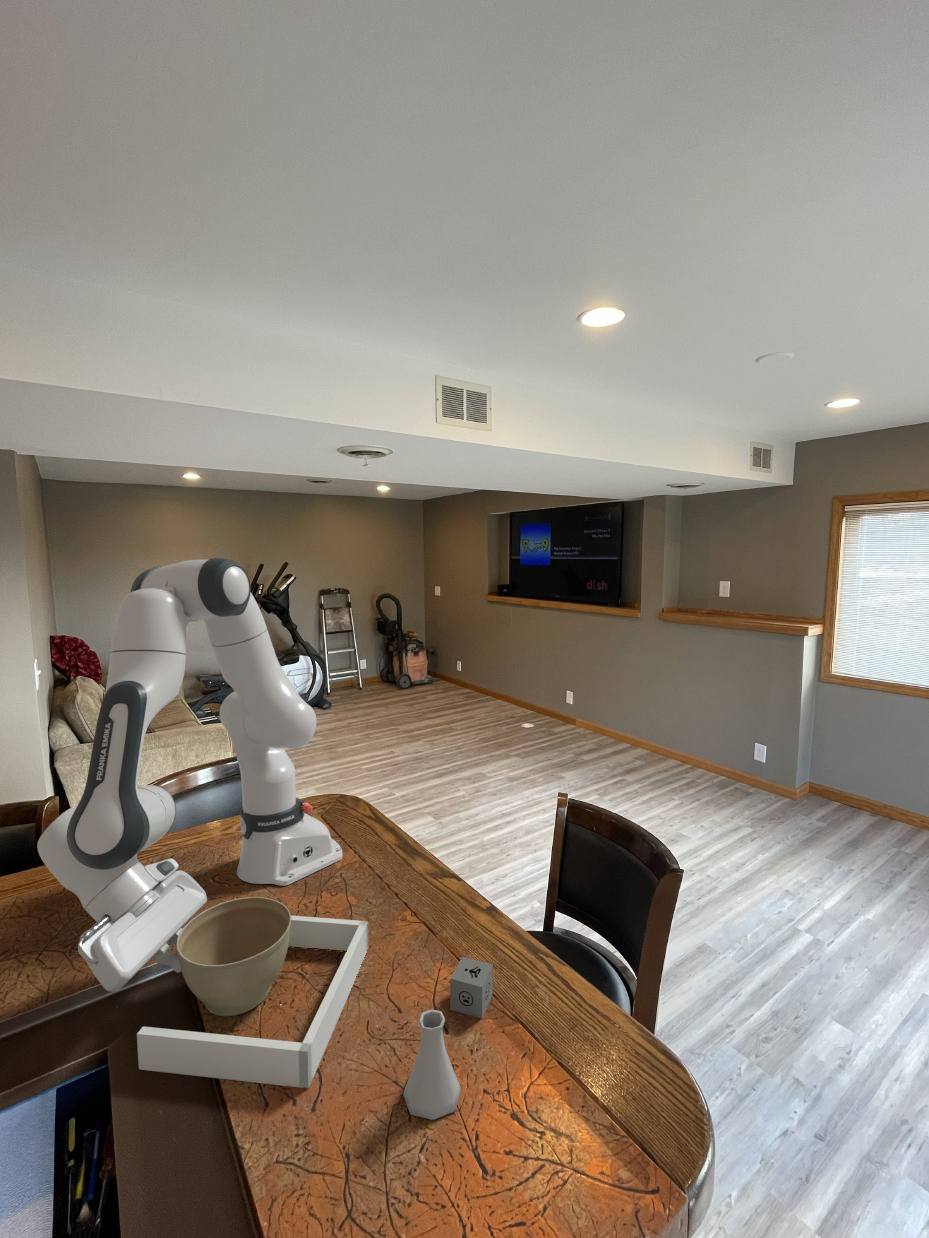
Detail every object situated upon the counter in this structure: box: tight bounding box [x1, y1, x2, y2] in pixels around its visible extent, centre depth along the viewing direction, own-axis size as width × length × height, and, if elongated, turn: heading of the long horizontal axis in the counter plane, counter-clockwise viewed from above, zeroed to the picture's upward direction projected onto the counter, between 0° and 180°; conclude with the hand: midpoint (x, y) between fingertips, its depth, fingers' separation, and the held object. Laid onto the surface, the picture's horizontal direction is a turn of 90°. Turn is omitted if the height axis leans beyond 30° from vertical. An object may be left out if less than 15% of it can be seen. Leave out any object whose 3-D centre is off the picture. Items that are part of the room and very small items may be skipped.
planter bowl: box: [176, 896, 292, 1017], centre depth 86 cm, size 16×16×11 cm
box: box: [136, 915, 370, 1089], centre depth 85 cm, size 23×26×5 cm
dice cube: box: [449, 956, 494, 1019], centre depth 85 cm, size 5×5×5 cm
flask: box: [403, 1009, 462, 1121], centre depth 70 cm, size 7×7×10 cm
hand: (187, 963), depth 86 cm, fingers closed, pressing on planter bowl
